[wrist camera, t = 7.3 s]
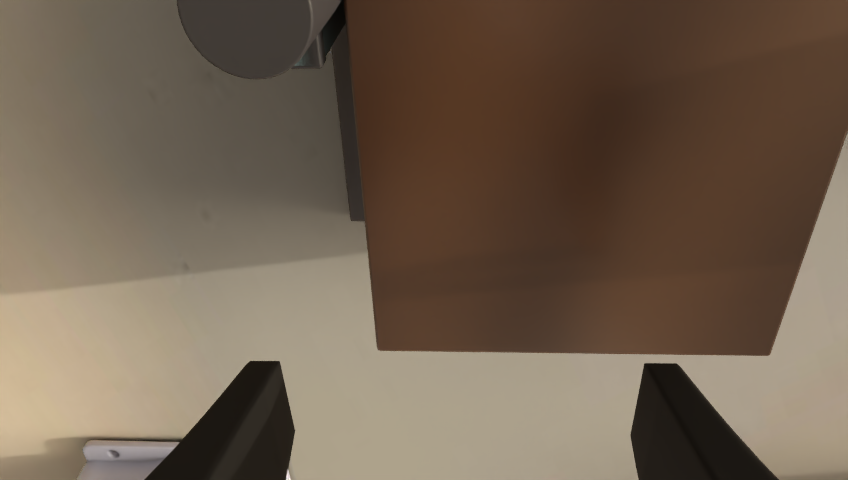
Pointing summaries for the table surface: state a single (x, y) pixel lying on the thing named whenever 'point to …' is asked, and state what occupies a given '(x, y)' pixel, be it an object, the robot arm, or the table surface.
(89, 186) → the table surface
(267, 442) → the robot arm
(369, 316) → the table surface
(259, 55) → the knobbed grey lever
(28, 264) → the table surface
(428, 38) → the cabinet
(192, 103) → the table surface
